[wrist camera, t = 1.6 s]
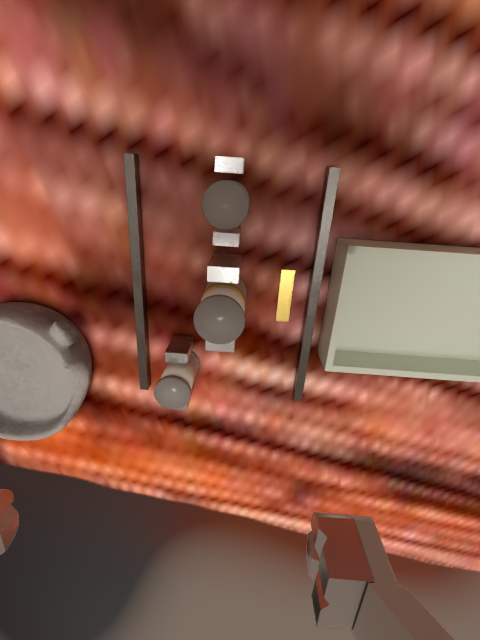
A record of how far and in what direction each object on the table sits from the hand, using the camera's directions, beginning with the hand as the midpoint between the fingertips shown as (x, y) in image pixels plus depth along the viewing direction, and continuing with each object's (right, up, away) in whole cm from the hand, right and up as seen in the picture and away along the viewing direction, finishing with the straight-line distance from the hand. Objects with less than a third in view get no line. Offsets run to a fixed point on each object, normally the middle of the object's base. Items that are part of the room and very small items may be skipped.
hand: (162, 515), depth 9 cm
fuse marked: (+1, +8, +22) cm, 23 cm away
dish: (-20, +1, +26) cm, 32 cm away
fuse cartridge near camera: (-4, +1, +25) cm, 25 cm away
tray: (+20, +7, +21) cm, 30 cm away
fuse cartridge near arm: (+1, +15, +18) cm, 24 cm away
